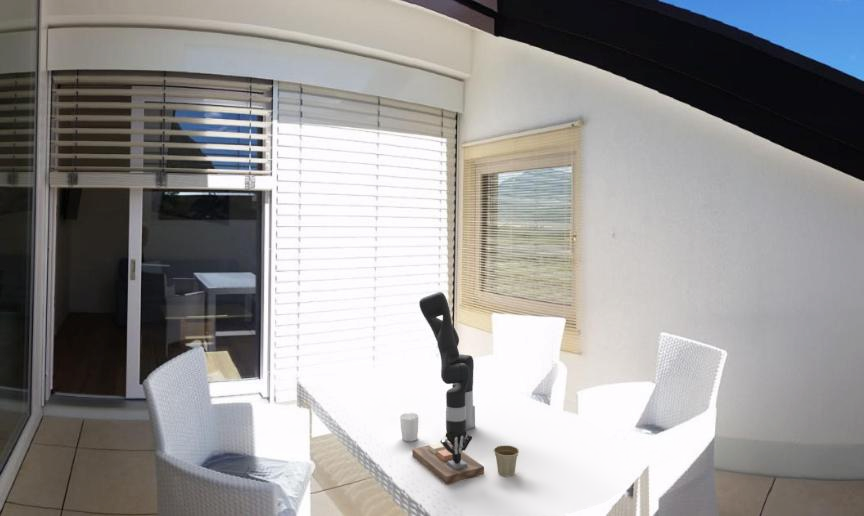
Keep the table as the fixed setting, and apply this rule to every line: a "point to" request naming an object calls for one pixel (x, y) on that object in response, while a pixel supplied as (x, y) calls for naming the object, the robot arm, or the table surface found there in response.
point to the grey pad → (457, 465)
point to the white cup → (409, 426)
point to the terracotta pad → (445, 455)
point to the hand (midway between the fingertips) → (456, 462)
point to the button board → (443, 469)
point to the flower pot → (506, 459)
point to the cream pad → (435, 447)
